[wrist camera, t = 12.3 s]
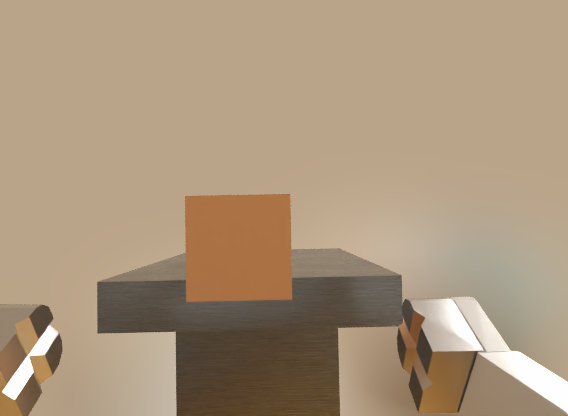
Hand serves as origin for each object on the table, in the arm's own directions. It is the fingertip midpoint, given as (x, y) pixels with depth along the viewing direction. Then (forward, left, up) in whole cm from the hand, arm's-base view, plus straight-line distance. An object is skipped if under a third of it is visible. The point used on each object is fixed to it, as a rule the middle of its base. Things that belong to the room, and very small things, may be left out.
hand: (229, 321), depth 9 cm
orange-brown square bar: (-9, -11, 0) cm, 14 cm away
